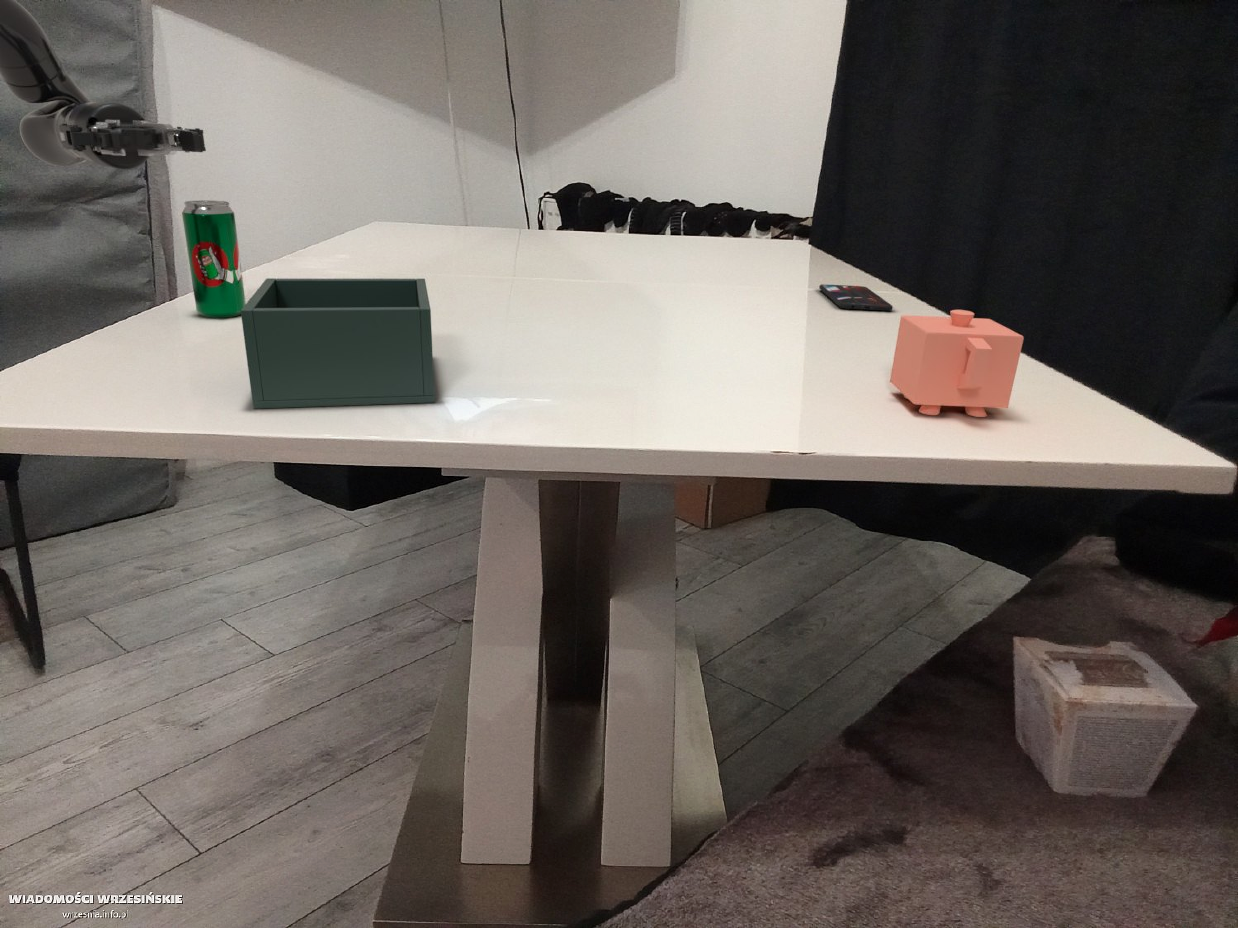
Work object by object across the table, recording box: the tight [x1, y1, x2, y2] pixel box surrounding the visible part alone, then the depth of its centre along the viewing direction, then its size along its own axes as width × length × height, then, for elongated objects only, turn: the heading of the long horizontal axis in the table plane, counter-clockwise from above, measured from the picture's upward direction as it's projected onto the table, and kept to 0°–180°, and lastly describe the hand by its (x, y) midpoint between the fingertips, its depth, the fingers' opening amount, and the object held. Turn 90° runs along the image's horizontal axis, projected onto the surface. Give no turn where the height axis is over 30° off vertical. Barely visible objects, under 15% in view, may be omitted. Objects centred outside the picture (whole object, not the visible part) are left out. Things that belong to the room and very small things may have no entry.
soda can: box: [181, 199, 247, 319], centre depth 90 cm, size 5×5×12 cm
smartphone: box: [818, 283, 894, 312], centre depth 117 cm, size 7×1×15 cm
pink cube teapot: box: [889, 309, 1025, 418], centre depth 71 cm, size 8×12×8 cm, turn 0°
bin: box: [240, 277, 436, 410], centre depth 70 cm, size 14×14×8 cm
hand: (157, 141), depth 93 cm, fingers open, 8 cm apart
